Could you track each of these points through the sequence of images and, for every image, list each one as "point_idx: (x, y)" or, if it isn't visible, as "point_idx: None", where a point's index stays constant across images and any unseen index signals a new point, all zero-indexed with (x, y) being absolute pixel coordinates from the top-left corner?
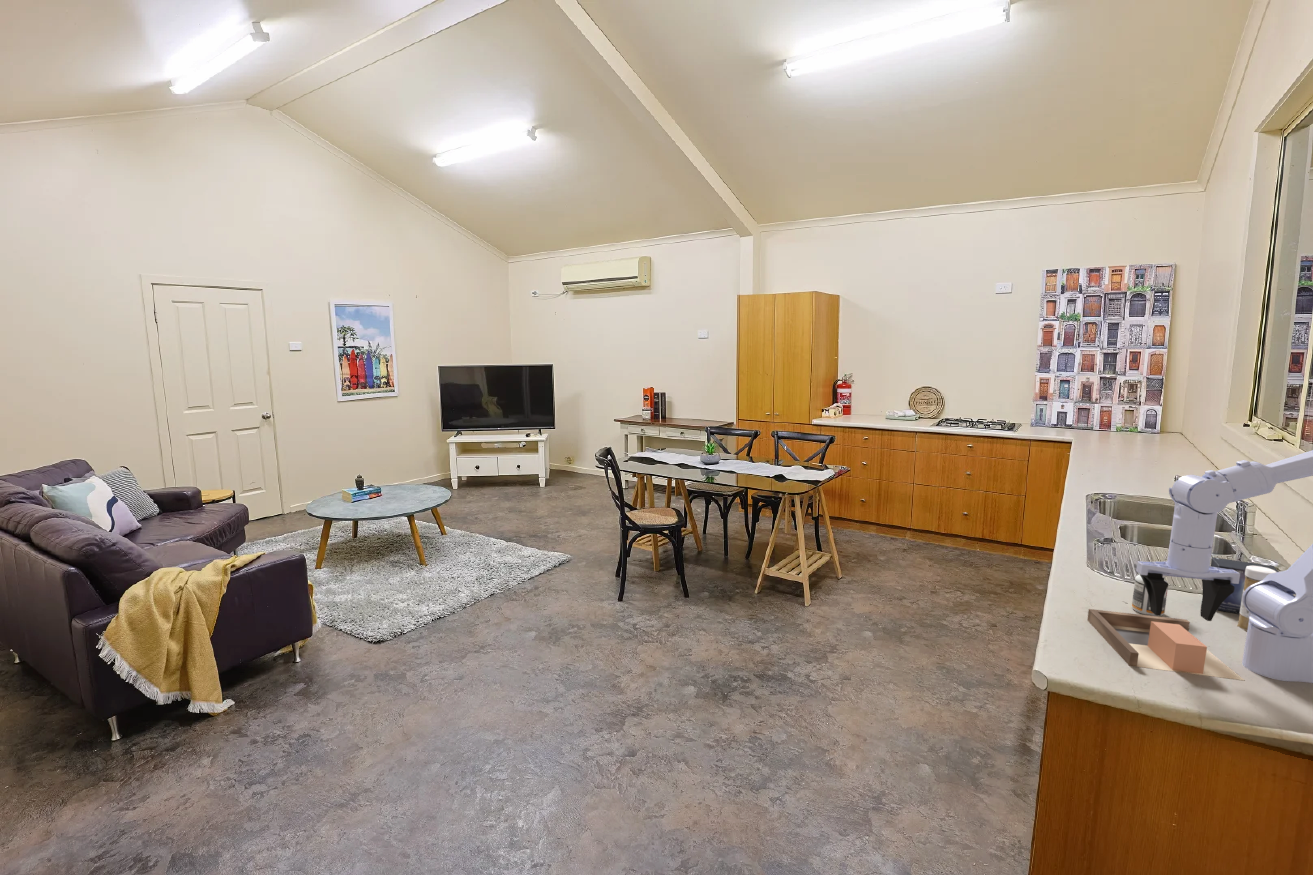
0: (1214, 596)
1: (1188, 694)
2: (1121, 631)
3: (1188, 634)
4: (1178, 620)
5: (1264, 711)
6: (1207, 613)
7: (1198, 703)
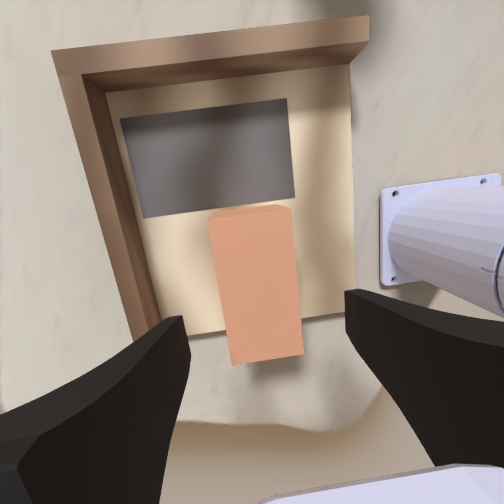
0: (431, 453)
1: (238, 380)
2: (168, 131)
3: (287, 286)
4: (338, 38)
5: (336, 385)
6: (359, 345)
7: (243, 403)
